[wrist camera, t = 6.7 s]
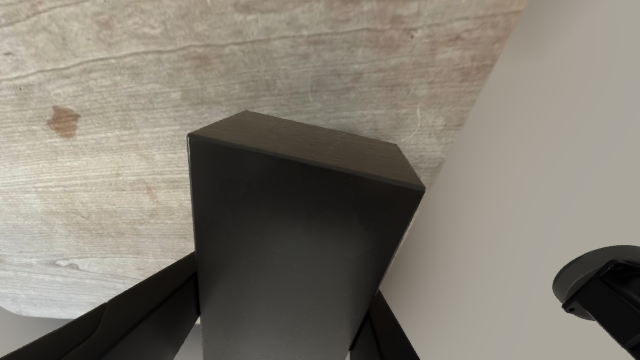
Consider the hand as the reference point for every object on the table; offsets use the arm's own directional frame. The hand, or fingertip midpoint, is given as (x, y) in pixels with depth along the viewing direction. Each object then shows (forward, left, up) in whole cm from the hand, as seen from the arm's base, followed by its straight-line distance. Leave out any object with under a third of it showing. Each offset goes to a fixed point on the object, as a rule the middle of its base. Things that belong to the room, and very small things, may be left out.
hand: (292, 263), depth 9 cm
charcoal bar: (0, 0, -1) cm, 1 cm away
